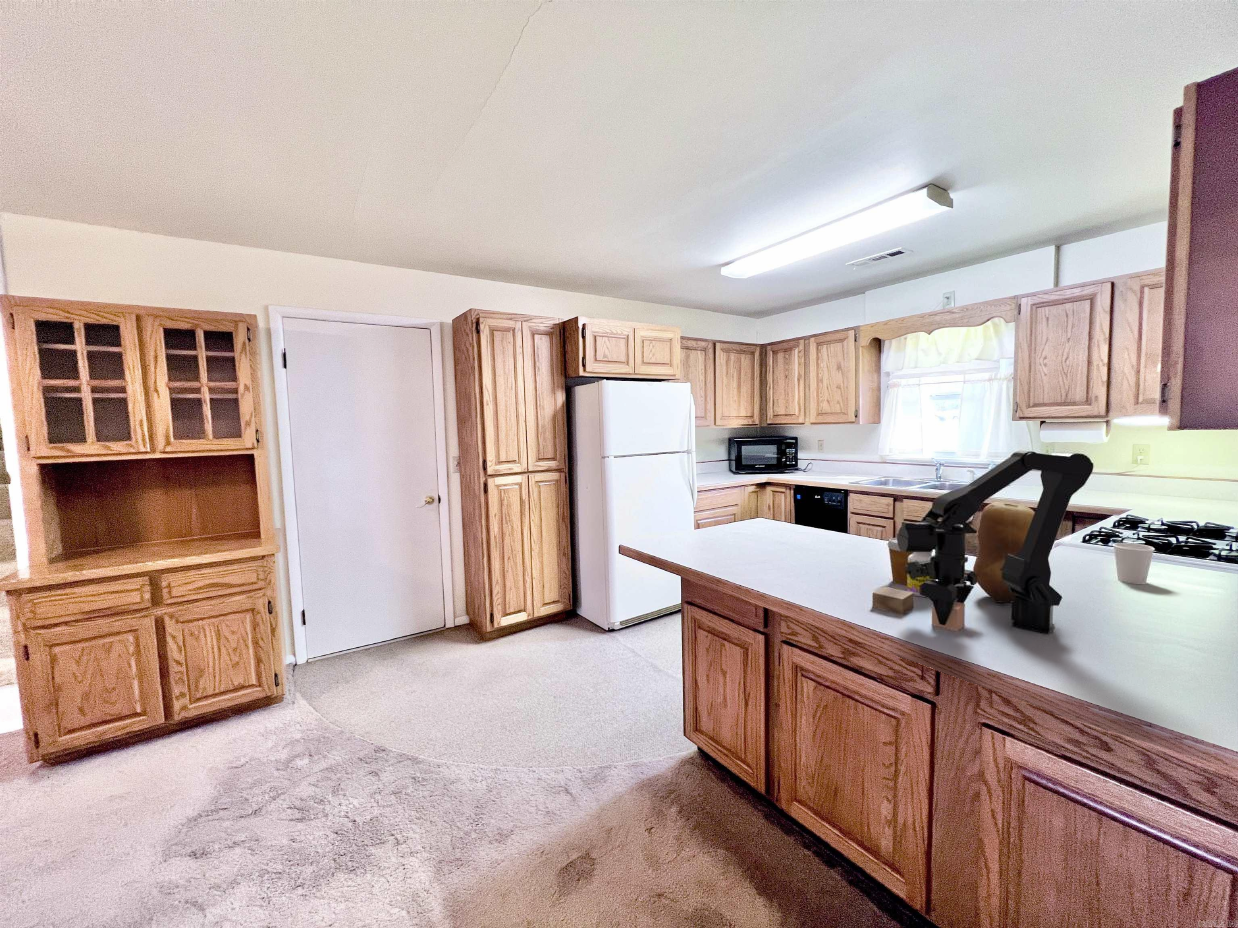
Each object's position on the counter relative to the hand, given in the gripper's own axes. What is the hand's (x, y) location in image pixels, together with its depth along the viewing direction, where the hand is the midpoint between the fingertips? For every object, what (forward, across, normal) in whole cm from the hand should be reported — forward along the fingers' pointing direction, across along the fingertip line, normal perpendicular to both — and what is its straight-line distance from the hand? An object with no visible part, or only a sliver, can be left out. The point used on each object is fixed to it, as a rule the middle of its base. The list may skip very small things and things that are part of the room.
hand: (948, 620), depth 116 cm
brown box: (+1, -3, -13) cm, 13 cm away
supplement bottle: (+1, -19, -12) cm, 23 cm away
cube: (+1, 0, 0) cm, 1 cm away
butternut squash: (+1, -28, +4) cm, 28 cm away
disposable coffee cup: (+1, -27, -19) cm, 33 cm away
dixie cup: (+1, -72, +24) cm, 76 cm away
